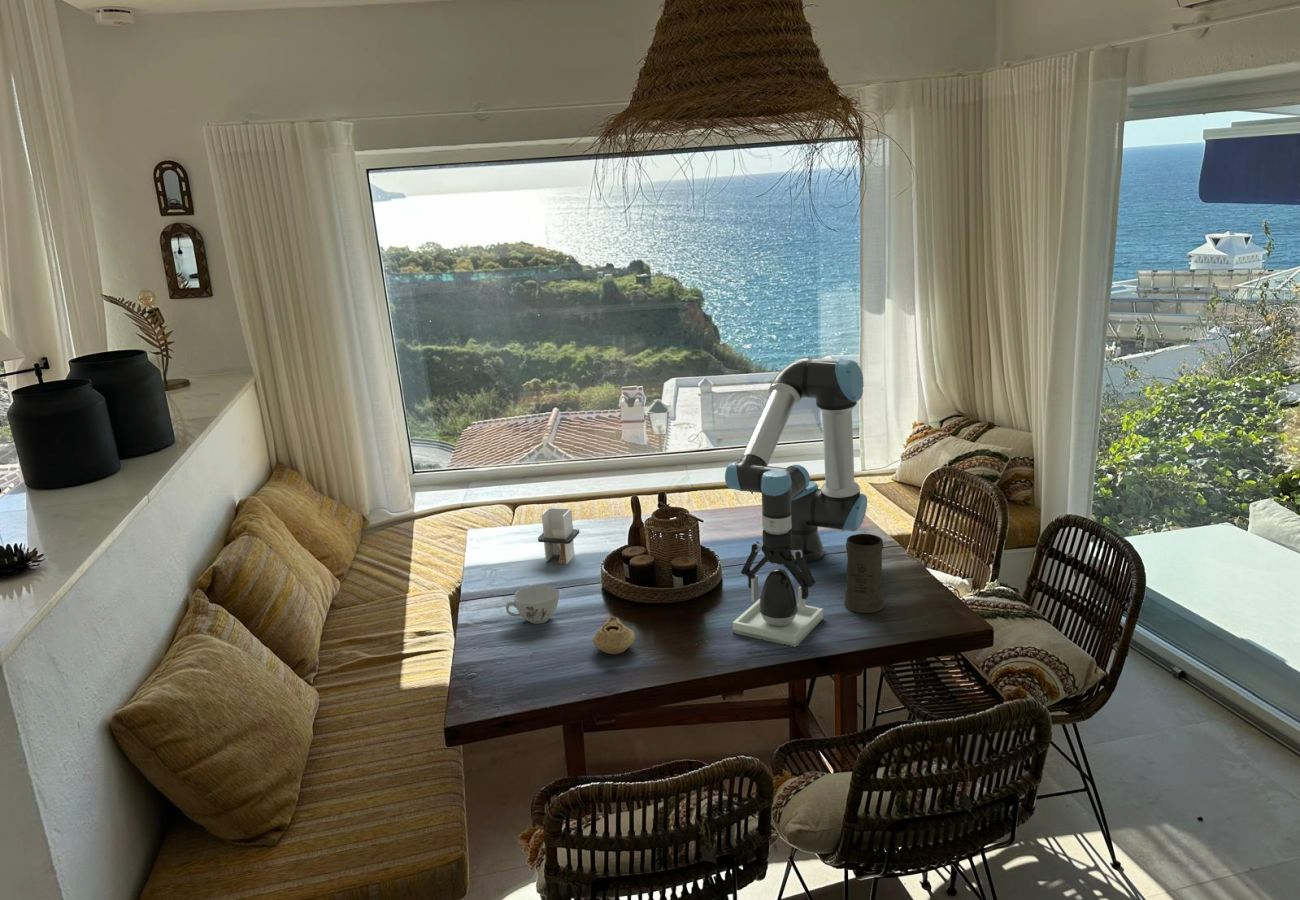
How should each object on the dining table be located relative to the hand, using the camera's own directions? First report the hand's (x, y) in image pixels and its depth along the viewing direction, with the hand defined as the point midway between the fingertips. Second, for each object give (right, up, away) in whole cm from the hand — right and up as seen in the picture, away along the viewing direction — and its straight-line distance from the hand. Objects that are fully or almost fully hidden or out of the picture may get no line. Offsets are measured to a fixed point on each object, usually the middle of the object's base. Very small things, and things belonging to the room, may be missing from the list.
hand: (778, 604), depth 251 cm
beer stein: (+26, -2, +13) cm, 29 cm away
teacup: (-66, -7, +13) cm, 68 cm away
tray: (0, -6, +2) cm, 6 cm away
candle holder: (-63, +5, +55) cm, 84 cm away
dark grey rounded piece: (0, -5, +1) cm, 5 cm away
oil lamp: (-44, -11, -5) cm, 45 cm away
